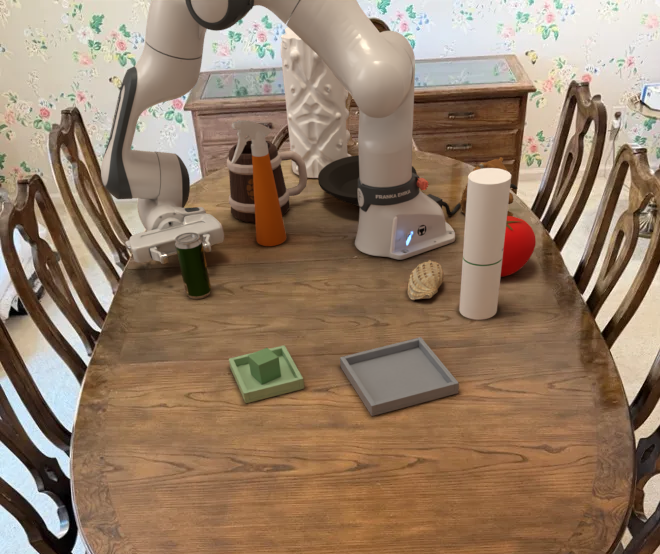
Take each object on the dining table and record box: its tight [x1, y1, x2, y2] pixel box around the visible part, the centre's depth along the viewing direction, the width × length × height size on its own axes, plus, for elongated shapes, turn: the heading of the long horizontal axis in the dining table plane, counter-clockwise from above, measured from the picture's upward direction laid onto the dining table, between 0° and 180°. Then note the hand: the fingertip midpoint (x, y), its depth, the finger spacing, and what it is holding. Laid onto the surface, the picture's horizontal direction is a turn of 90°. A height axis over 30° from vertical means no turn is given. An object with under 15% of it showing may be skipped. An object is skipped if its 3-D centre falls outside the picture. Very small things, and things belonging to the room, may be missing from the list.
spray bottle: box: [231, 119, 287, 247], centre depth 157 cm, size 7×11×26 cm, turn 127°
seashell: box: [407, 259, 445, 301], centre depth 144 cm, size 8×6×10 cm
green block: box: [248, 347, 281, 384], centre depth 126 cm, size 4×4×4 cm
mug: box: [226, 139, 308, 224], centre depth 173 cm, size 20×15×15 cm
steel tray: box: [339, 336, 460, 417], centre depth 124 cm, size 16×16×2 cm
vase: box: [280, 26, 352, 179], centre depth 185 cm, size 17×16×32 cm
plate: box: [317, 154, 418, 207], centre depth 178 cm, size 28×24×6 cm
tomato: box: [500, 215, 537, 278], centre depth 146 cm, size 14×13×10 cm
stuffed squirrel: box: [458, 157, 514, 217], centre depth 163 cm, size 10×14×13 cm
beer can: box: [175, 232, 212, 300], centre depth 147 cm, size 5×5×12 cm
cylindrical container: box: [458, 168, 512, 321], centre depth 130 cm, size 7×7×25 cm
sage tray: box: [228, 344, 305, 404], centre depth 127 cm, size 11×12×2 cm
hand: (186, 254), depth 150 cm, fingers open, 8 cm apart
